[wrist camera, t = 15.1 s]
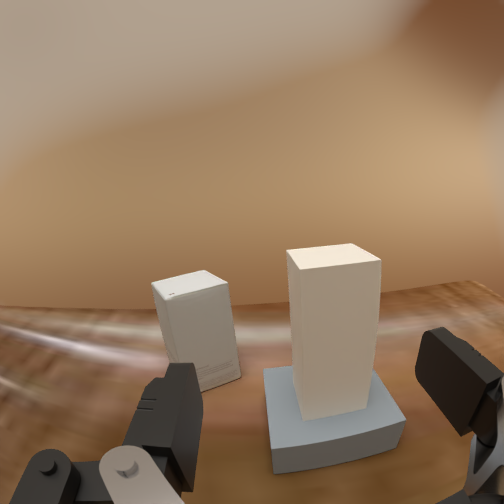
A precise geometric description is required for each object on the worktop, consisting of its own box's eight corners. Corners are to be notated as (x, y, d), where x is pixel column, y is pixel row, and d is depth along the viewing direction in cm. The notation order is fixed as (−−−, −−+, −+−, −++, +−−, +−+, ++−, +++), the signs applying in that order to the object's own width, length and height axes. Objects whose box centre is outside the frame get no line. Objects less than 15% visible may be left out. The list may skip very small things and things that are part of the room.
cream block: (302, 421, 20) (299, 269, 17) (293, 382, 26) (286, 250, 23) (366, 407, 20) (381, 259, 17) (347, 372, 26) (351, 243, 23)
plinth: (273, 474, 18) (271, 449, 18) (265, 396, 29) (263, 368, 28) (395, 447, 18) (406, 419, 18) (360, 381, 29) (363, 353, 28)
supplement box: (243, 377, 33) (230, 282, 30) (187, 398, 30) (162, 299, 27) (219, 352, 39) (205, 268, 37) (170, 367, 36) (149, 280, 33)
